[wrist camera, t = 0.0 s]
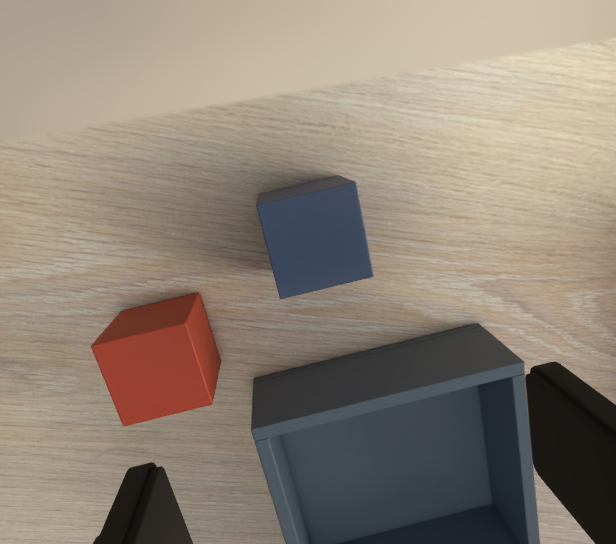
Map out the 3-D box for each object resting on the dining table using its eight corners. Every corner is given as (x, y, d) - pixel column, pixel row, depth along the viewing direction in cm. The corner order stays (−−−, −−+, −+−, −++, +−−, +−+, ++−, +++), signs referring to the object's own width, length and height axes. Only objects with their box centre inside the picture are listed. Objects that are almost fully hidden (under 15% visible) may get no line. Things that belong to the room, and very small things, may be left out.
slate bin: (253, 378, 30) (250, 429, 24) (478, 322, 30) (524, 361, 25) (304, 553, 34) (312, 630, 29) (499, 503, 34) (542, 569, 29)
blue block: (257, 194, 26) (256, 205, 21) (339, 175, 26) (355, 181, 22) (277, 272, 28) (280, 299, 23) (355, 254, 28) (373, 276, 23)
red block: (120, 310, 27) (90, 345, 23) (199, 291, 28) (185, 322, 23) (146, 380, 29) (123, 427, 24) (221, 362, 29) (212, 404, 24)
